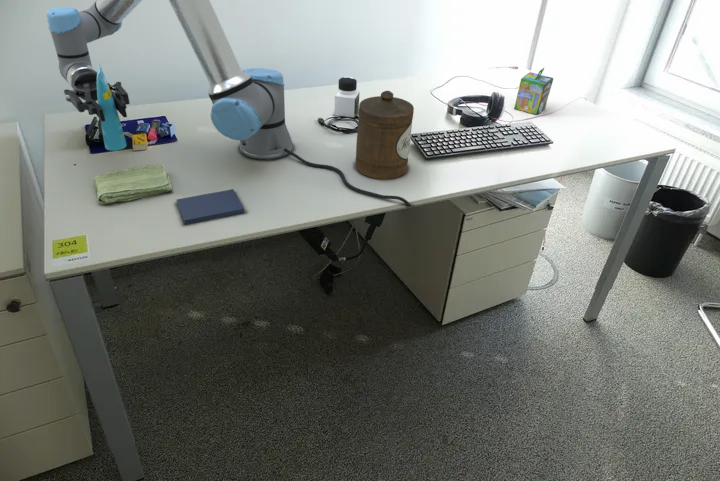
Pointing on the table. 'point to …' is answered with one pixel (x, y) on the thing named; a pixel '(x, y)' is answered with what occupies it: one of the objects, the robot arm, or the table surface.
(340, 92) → the medicine bottle
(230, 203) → the notebook
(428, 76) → the table surface
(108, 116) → the tube
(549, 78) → the chalk box
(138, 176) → the washcloth
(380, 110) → the wooden container
